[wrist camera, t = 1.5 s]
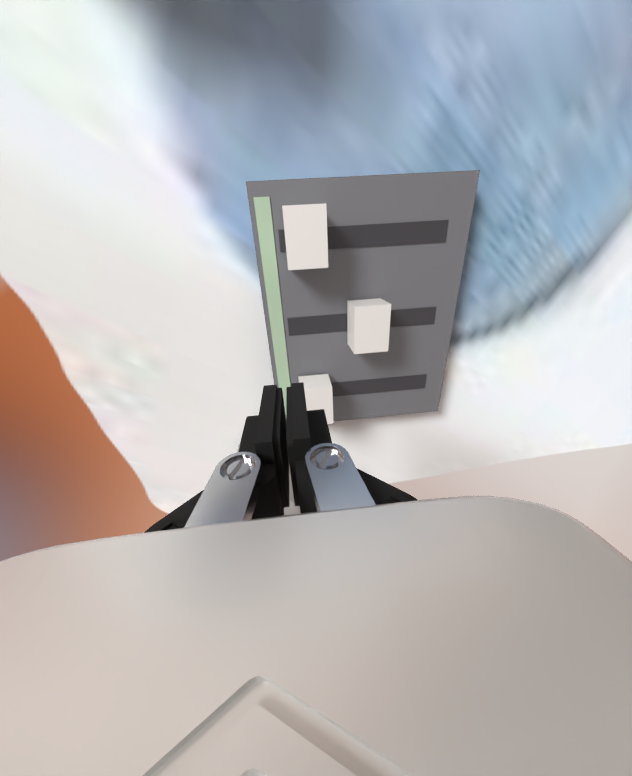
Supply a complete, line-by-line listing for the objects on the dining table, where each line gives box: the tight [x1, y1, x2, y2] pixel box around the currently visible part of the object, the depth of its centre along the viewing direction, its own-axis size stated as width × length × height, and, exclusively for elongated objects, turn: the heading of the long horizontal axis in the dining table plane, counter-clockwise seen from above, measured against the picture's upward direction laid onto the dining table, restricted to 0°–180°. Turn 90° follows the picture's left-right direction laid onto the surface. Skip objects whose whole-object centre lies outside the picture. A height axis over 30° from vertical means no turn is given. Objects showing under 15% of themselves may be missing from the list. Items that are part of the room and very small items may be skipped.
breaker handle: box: [347, 298, 391, 354], centre depth 24 cm, size 3×4×3 cm
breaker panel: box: [246, 170, 480, 424], centre depth 25 cm, size 18×22×5 cm
